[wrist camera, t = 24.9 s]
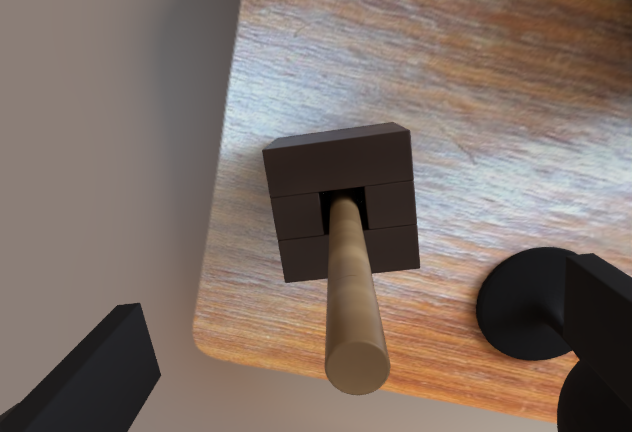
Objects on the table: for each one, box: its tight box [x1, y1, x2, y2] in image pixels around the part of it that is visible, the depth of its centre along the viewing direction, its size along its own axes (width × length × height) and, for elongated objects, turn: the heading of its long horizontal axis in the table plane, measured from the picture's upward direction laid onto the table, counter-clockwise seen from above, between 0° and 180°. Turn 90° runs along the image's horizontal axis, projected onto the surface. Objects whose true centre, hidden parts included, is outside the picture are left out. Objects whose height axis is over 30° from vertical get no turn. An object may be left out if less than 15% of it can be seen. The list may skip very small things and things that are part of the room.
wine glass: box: [476, 247, 632, 432], centre depth 25 cm, size 10×10×20 cm
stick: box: [325, 188, 390, 395], centre depth 22 cm, size 2×2×22 cm
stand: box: [262, 122, 420, 283], centre depth 29 cm, size 9×9×7 cm
